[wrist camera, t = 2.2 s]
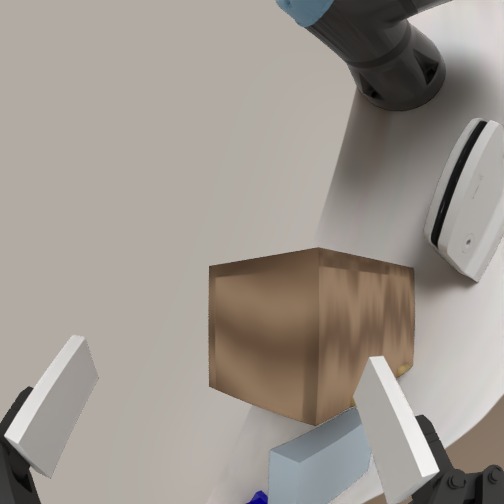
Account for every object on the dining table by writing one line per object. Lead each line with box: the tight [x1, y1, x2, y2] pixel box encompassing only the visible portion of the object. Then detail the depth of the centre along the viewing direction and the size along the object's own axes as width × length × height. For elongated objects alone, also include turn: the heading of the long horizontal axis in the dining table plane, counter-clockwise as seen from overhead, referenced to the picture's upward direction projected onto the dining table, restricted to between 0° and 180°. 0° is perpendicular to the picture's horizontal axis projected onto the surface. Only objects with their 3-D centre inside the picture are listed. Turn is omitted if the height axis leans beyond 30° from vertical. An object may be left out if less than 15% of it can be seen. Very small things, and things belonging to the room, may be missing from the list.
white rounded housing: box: [423, 118, 504, 282], centre depth 22 cm, size 17×5×10 cm, turn 141°
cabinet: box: [209, 248, 415, 426], centre depth 28 cm, size 12×14×20 cm
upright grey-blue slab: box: [268, 408, 371, 504], centre depth 27 cm, size 10×5×16 cm, turn 179°
